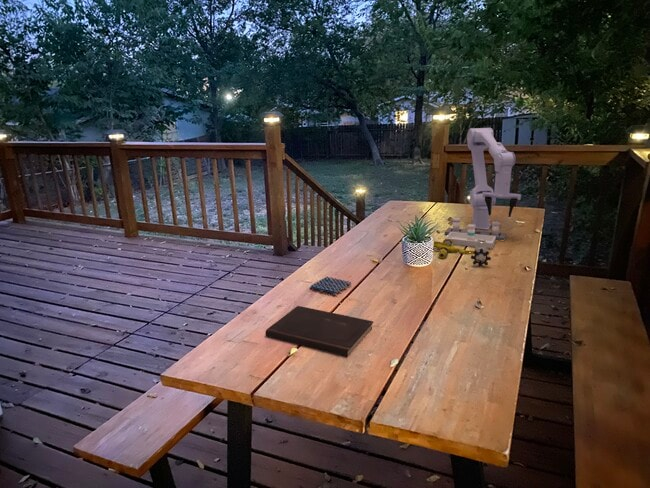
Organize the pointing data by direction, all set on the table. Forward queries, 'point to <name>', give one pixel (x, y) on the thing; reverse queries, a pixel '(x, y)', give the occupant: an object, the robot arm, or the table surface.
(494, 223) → the cylinder
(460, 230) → the holder
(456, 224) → the cartridge
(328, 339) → the hardcover book
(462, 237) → the tray
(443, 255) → the sprinkler
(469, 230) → the marked cartridge
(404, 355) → the table surface
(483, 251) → the valve
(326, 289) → the woven mat
